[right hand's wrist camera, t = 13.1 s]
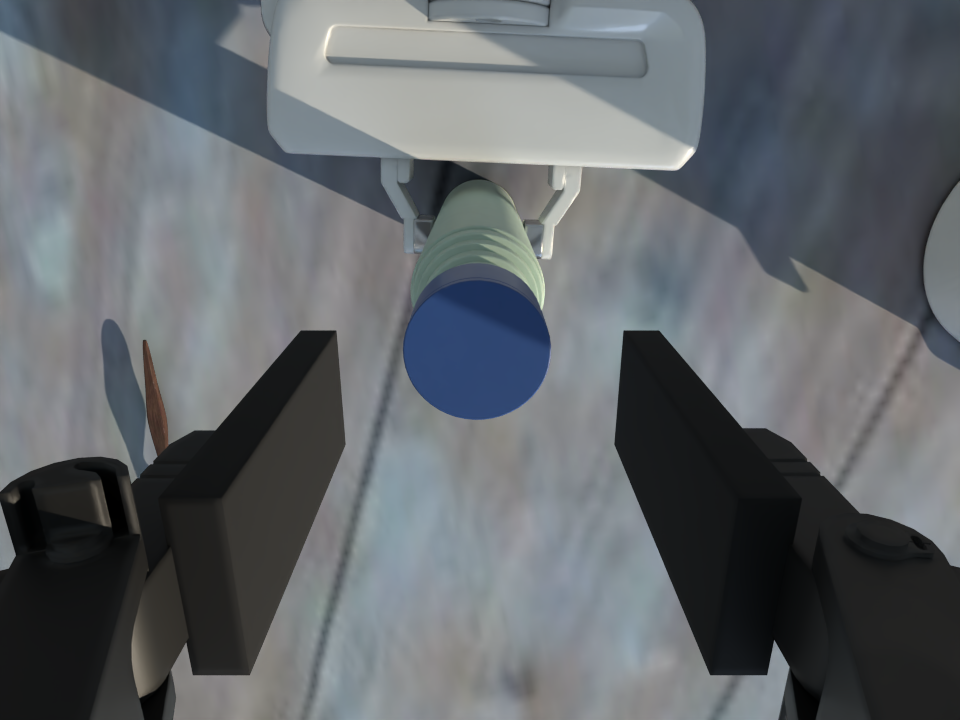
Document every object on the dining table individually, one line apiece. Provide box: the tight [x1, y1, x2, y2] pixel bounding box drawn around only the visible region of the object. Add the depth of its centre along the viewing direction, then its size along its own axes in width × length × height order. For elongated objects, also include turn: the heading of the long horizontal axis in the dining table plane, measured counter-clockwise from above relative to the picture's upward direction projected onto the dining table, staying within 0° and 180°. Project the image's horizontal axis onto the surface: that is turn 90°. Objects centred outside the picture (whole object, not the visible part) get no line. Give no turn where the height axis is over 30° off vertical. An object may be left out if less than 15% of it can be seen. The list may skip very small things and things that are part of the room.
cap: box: [403, 263, 551, 420], centre depth 18 cm, size 4×4×2 cm
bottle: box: [411, 180, 545, 310], centre depth 28 cm, size 5×5×24 cm
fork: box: [143, 340, 168, 456], centre depth 44 cm, size 3×16×2 cm, turn 178°
